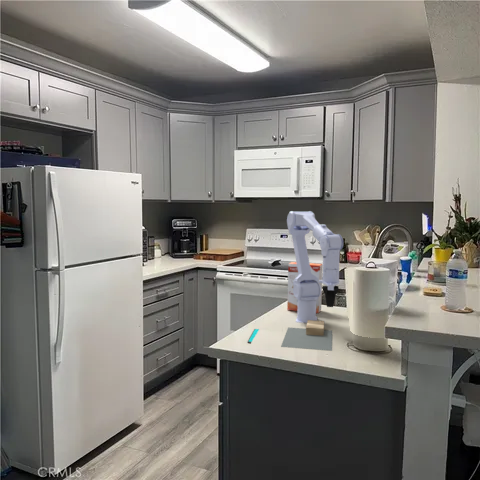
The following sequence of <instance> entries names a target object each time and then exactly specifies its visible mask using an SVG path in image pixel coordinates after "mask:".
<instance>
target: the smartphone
mask: <svg viewBox="0 0 480 480" xmlns="http://www.w3.org/2000/svg"><path fill="white" fill-rule="evenodd" d="M259 331H260V329H259V328H254V329H253V331H252V332H251V334H250V336H249V338H248V340H247V342H246V343H247V344H252V342H253V340H254V338H255V337H256V335H257V334H258V332H259Z"/></svg>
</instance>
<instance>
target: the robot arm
mask: <svg viewBox="0 0 480 480" xmlns="http://www.w3.org/2000/svg"><path fill="white" fill-rule="evenodd" d="M286 218H287V219H286V225H287V229H288V233H289V234H290V235H291V239H292V244H293V250H294V256H295V262H296V263H297V269H298V274H299V275H298V276H297V277H296V278H295V279H294V281H293V293H294V296H295V297H296V298H297V299H298V311H296V312H297V313H296V315H297V316H296V319H295V323H302V324H305V323H306V324H307V321H308V320H316V321H318V316H317V313H316V300H317V299H318V297H319V296H320V294H321V286H320V284H319V283H322V292H323V294H324V296H325V305H326V307H327V308H334V306H335V305H334V304H335V300H336V297H337V294H338V292H339V285H340V256H341V255H340V253H341V251H342V249H343V248H344V239H343V237H342V234H340V233H337V234H336V233H333V231H332V230H331V229H329V228H328V227H327V224H323V223H322V224H320V223H319V222H318V221H317V219H316V215H315V213H314V212H313V211H311V210H309V211H293V210H291V211H289V213H288V214H287V217H286ZM311 231H312V237H314V238H315V239H316V240H317V242H319V246H320V250H321V251H320V252H321V256H322V280H319V282H318V278H317V277H316V276H314V275H313V274H312V273H311V269H310V263H311V262H310V259H309V253H308V247H307V243H306V237H305V236H306V235H307V234H309V233H310V232H311Z"/></svg>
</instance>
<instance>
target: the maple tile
mask: <svg viewBox="0 0 480 480" xmlns="http://www.w3.org/2000/svg"><path fill="white" fill-rule="evenodd" d="M305 329H306V335H320V336H323V335H324V330H325V320H317V321H316V320H308V321H307V323H306V326H305Z"/></svg>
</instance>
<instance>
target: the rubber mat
mask: <svg viewBox="0 0 480 480" xmlns="http://www.w3.org/2000/svg"><path fill="white" fill-rule="evenodd" d="M280 347H281V348H291V349H292V348H293V349H304V350H305V349H306V350H317V351H330V352H332V351H333V330H331V329H324V335H323V336H320V335H306V328H303V327H302V328H301V327H287V330H286V332H285V335H284V338H283V341H282V343H281V345H280Z"/></svg>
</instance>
